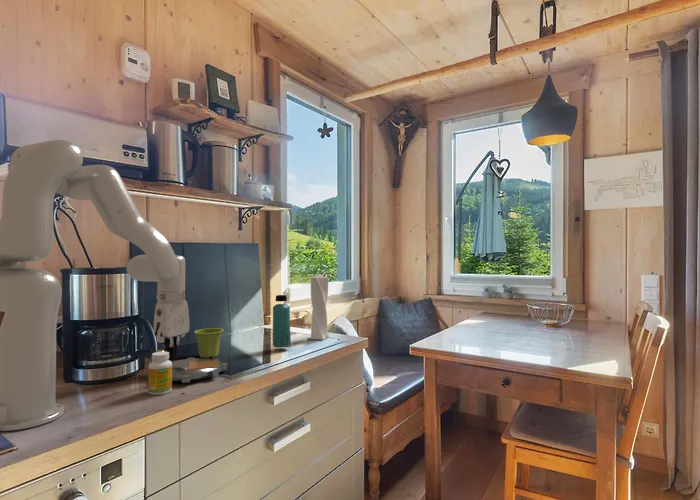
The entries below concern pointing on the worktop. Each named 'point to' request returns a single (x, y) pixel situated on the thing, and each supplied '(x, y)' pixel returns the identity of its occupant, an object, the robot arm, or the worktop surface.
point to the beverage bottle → (281, 323)
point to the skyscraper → (319, 307)
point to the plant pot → (208, 341)
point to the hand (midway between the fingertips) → (171, 359)
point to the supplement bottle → (160, 374)
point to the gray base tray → (195, 368)
